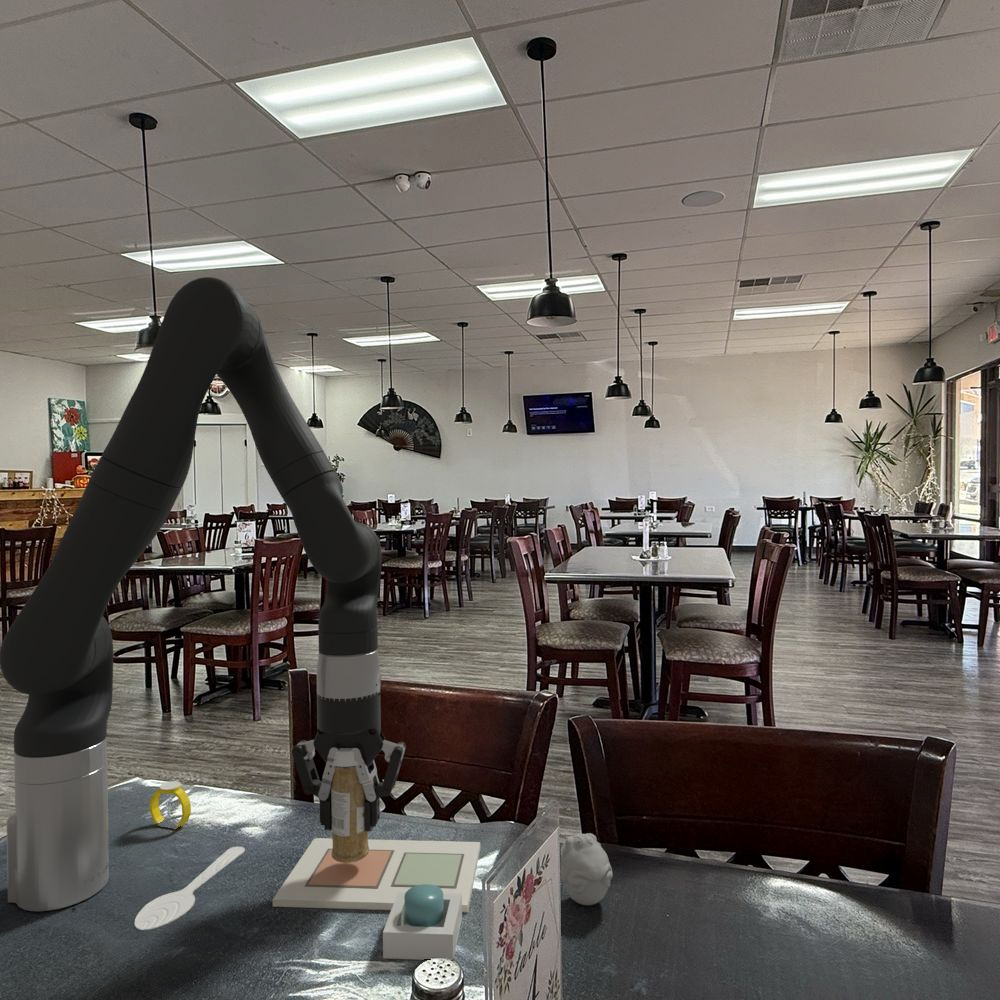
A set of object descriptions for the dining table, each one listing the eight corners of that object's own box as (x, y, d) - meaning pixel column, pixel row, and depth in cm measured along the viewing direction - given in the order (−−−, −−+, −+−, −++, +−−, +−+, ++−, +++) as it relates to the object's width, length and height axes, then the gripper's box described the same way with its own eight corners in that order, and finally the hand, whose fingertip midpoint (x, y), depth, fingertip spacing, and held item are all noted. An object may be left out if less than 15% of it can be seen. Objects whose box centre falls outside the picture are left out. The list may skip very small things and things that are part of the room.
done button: (401, 927, 71) (400, 905, 71) (409, 904, 75) (408, 883, 75) (440, 928, 70) (439, 906, 70) (446, 905, 74) (445, 884, 74)
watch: (194, 827, 98) (196, 785, 98) (179, 836, 96) (181, 793, 95) (160, 818, 100) (161, 777, 100) (144, 827, 97) (146, 785, 97)
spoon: (259, 851, 91) (258, 847, 91) (162, 936, 74) (162, 931, 74) (222, 847, 92) (222, 843, 92) (119, 929, 75) (119, 924, 75)
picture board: (272, 906, 78) (272, 898, 78) (314, 844, 92) (314, 837, 92) (467, 912, 77) (467, 904, 77) (480, 848, 91) (480, 841, 91)
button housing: (383, 958, 69) (382, 932, 69) (398, 915, 76) (398, 892, 76) (453, 960, 69) (452, 934, 69) (462, 917, 76) (461, 894, 76)
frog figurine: (596, 879, 83) (595, 820, 83) (624, 912, 76) (623, 849, 76) (548, 888, 81) (548, 828, 81) (573, 923, 74) (572, 858, 74)
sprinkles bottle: (375, 857, 84) (374, 746, 84) (338, 868, 82) (337, 753, 81) (360, 841, 88) (359, 735, 88) (325, 852, 85) (324, 742, 85)
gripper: (279, 695, 81) (281, 842, 81) (400, 696, 80) (401, 845, 80) (302, 678, 89) (303, 812, 89) (413, 679, 88) (414, 815, 88)
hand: (350, 827), depth 85 cm, fingers closed on sprinkles bottle, 4 cm apart
